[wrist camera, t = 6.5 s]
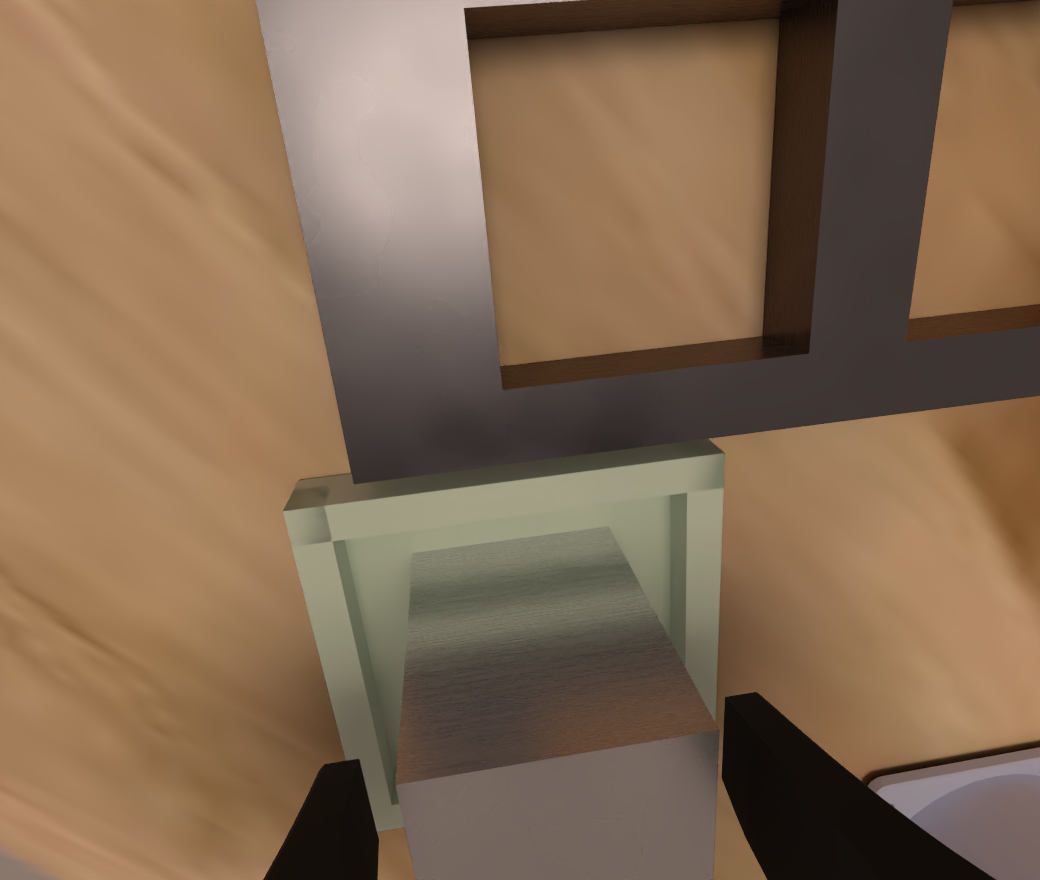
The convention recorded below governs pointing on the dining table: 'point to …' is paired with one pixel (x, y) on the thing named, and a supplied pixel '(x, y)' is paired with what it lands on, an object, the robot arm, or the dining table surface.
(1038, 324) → the dark grey flat frame
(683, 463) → the tray
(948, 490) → the dining table surface
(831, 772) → the robot arm
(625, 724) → the grey rectangular block
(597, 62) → the dining table surface
